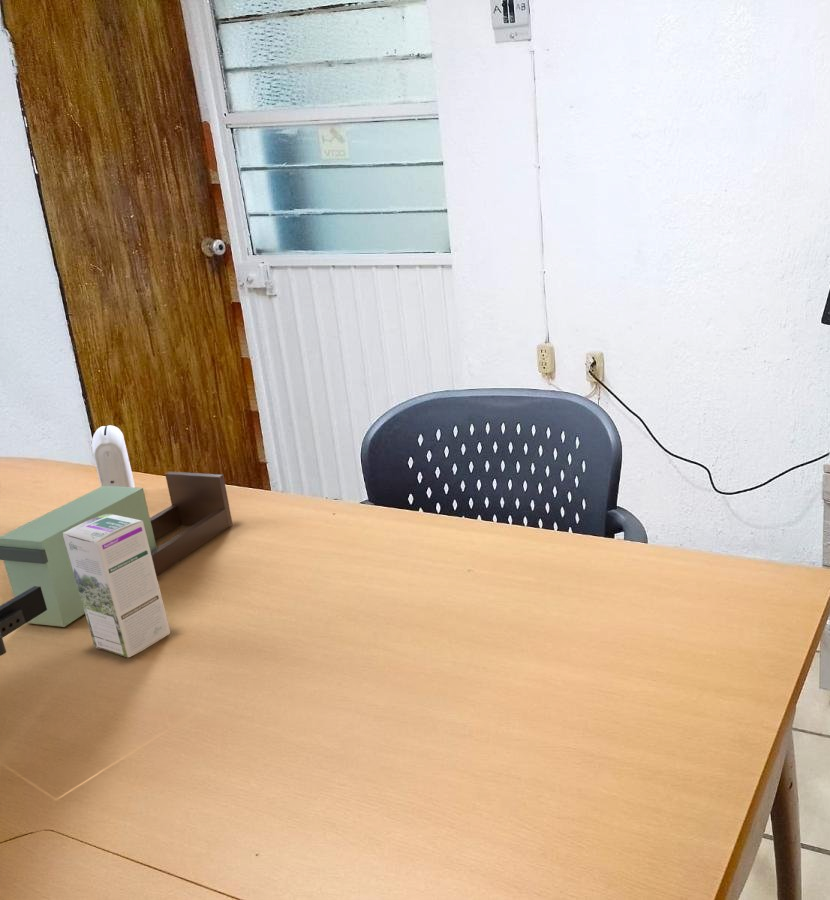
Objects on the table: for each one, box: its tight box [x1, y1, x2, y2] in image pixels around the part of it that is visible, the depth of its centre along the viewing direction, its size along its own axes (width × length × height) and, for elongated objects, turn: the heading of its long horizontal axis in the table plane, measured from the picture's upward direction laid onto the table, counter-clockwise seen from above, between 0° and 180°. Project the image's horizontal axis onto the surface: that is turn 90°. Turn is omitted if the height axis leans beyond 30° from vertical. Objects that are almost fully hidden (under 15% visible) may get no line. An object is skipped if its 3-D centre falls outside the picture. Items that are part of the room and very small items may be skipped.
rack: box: [150, 471, 234, 577], centre depth 115 cm, size 9×17×8 cm, turn 168°
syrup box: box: [63, 514, 171, 658], centre depth 91 cm, size 6×6×14 cm
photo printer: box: [91, 424, 136, 488], centre depth 130 cm, size 10×4×12 cm, turn 28°
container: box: [0, 486, 158, 628], centre depth 102 cm, size 6×16×11 cm, turn 168°
